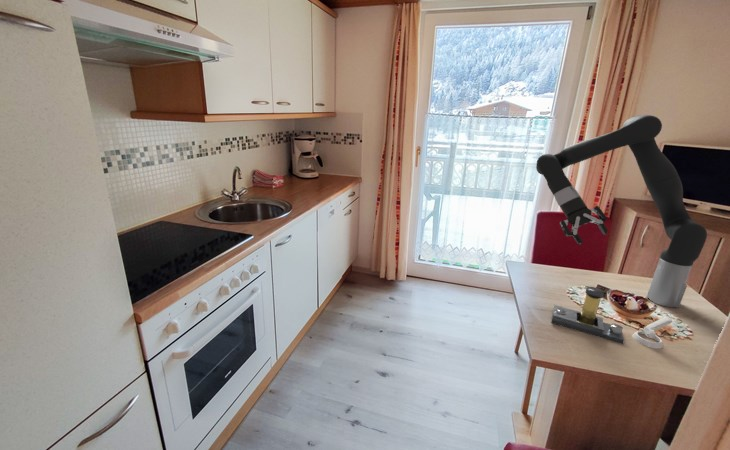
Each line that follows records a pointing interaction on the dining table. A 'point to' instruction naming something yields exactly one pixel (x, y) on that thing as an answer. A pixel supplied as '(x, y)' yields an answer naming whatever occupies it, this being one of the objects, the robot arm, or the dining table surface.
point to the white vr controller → (652, 333)
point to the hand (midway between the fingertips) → (593, 239)
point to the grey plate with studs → (600, 329)
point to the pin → (591, 305)
